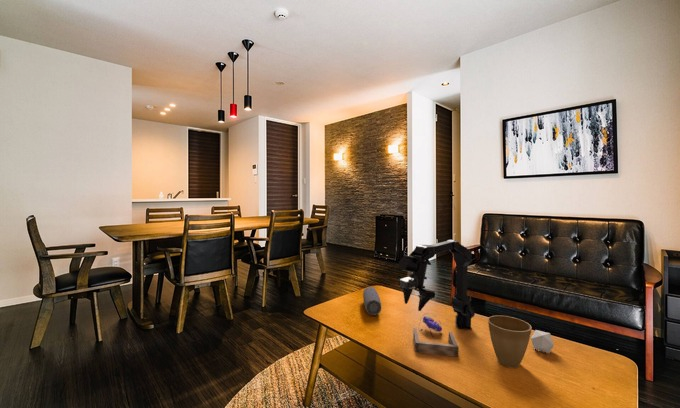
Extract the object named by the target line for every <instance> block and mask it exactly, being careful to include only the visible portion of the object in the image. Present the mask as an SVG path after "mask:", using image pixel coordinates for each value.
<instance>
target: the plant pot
mask: <svg viewBox="0 0 680 408" xmlns="http://www.w3.org/2000/svg"><path fill="white" fill-rule="evenodd" d="M487 324H488V330H489V331H488V332H489V335H490V339H491V344H492V347H493V351H494V354H495V356H496V359H497V361H498V363H499V364H500V365H502V366H504V367H507V368H511V369H512V368H513V369H514V368H515V369H516V368H519V367H520V365H521V363H522V361H523V359H524V357H525V354H526V351H527V349H528V346H529V342H530V340H531V335H532V334H531V333H532V330H533V329H532V325H531V324H529V322H526V321H525V320H522V319H520V318H516V317H513V316H509V315H492V316H489V317H488V319H487Z"/></svg>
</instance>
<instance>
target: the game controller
mask: <svg viewBox="0 0 680 408" xmlns="http://www.w3.org/2000/svg"><path fill="white" fill-rule="evenodd" d="M426 314H428V312H426V313H424V314H423V316H422V317H420V318H421V319H420V321H419V323H418V325H420V324H421V320H422V323H424V324H425V325H426V326H427V328H428V329H429V330H430V331H429V332H430V334H431V336H432V338H433V339H435V338H434V335H433V334H432V330H433V331H435V332H442V331H443V328H442V325H441V322H437V321H435V320H434V318H431V317H428V316H426ZM432 315H433V316H435V314H433V313H432ZM423 330H424V329H423V328H421V329H420V332H422V331H423Z"/></svg>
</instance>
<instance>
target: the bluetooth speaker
mask: <svg viewBox="0 0 680 408" xmlns="http://www.w3.org/2000/svg"><path fill="white" fill-rule="evenodd" d="M362 297H363V304H364V305H363V306H364V307H365V310H366V312H367V313H368V314H369V315H371V316H376V315H378V314H380V313H381V312H382V302H381V297H380V296H379V293H378V290H376V288H374V287H373V286H367V287H366V288H365V289H364V290H363V292H362Z"/></svg>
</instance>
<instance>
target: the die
mask: <svg viewBox="0 0 680 408" xmlns="http://www.w3.org/2000/svg"><path fill="white" fill-rule="evenodd" d="M531 335H532V336H530V341H531V344H532V346H533V349H536V350H535V351H537V350H539V351H538V352H540V351H543V352H542V353H544V352H546V353H545V354H548V353H549V354H550V352H551V351H552V349H553V348H554V346H555V343H554V341H553V338H552V337H553V336H551V333H550V332H545V331H542V330H539V329H538V330H537V329H535V330H534V332H533V334H531Z"/></svg>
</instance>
